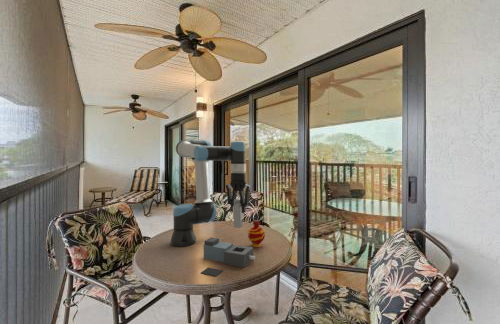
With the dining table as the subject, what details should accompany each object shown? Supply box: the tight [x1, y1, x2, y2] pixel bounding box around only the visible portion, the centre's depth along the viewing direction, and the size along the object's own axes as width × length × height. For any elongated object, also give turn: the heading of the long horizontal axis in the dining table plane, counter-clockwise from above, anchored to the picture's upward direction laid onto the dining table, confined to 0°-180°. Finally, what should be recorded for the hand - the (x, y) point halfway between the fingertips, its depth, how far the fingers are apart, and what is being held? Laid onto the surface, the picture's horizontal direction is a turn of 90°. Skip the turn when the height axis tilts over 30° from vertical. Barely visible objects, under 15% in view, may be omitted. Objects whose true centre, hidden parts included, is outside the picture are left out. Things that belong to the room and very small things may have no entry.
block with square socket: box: [203, 236, 256, 268], centre depth 131 cm, size 27×11×9 cm, turn 66°
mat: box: [200, 267, 224, 277], centre depth 117 cm, size 8×6×1 cm
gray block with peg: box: [233, 198, 243, 229], centre depth 128 cm, size 3×6×14 cm, turn 156°
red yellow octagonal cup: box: [247, 219, 266, 248], centre depth 152 cm, size 10×10×15 cm
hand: (238, 218), depth 128 cm, fingers closed on gray block with peg, 3 cm apart
